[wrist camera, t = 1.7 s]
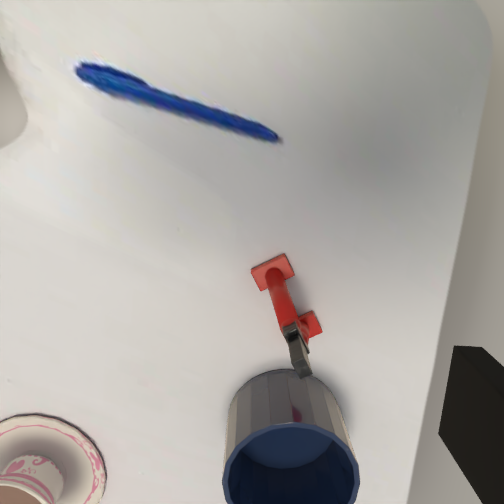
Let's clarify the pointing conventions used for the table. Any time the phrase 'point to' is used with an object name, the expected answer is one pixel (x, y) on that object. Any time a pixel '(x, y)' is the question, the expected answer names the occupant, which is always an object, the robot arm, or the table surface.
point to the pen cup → (288, 444)
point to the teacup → (48, 463)
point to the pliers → (288, 311)
